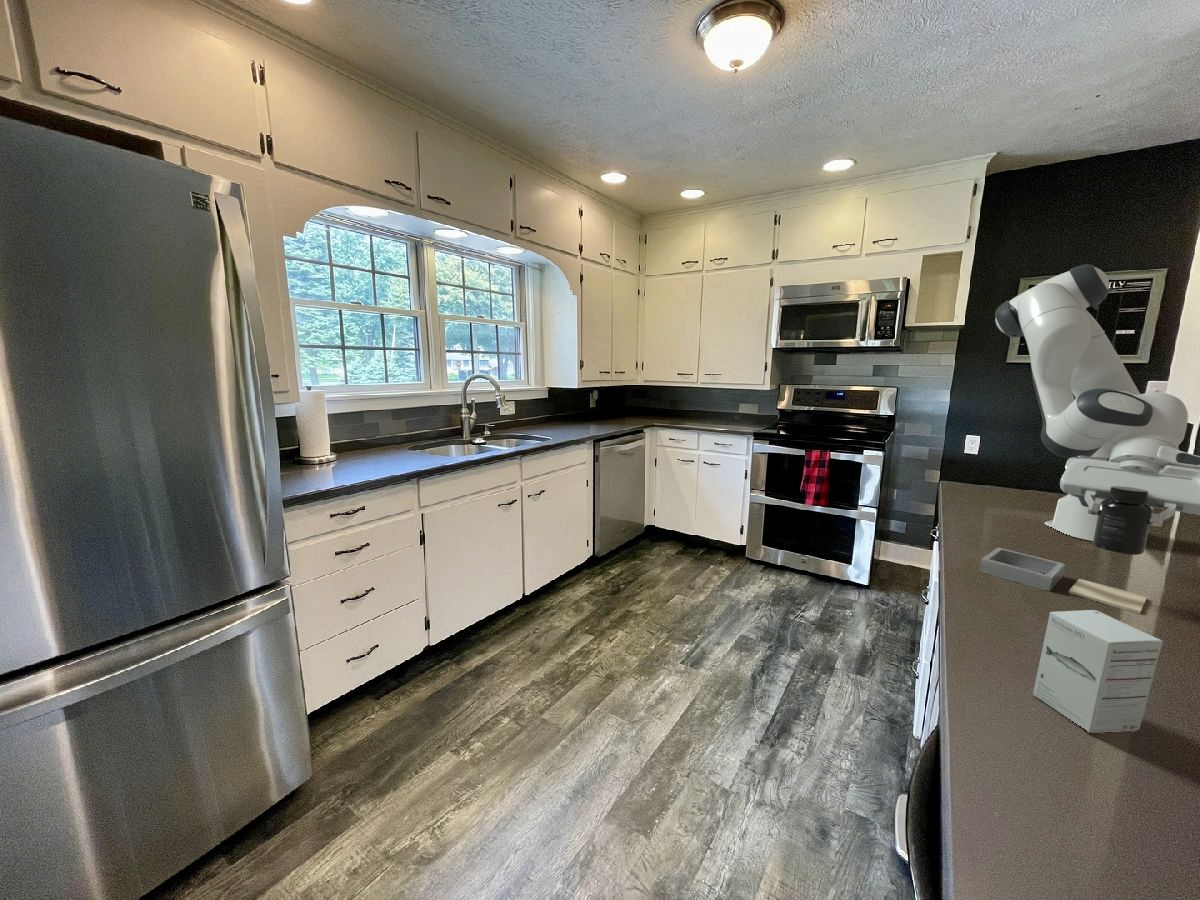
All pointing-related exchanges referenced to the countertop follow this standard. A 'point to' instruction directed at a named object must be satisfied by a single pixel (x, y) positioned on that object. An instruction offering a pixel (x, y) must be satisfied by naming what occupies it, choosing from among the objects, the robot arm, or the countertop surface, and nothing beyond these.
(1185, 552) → the countertop surface
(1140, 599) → the birch pad
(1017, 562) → the steel holder
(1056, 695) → the supplement box
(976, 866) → the countertop surface
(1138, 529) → the supplement bottle
